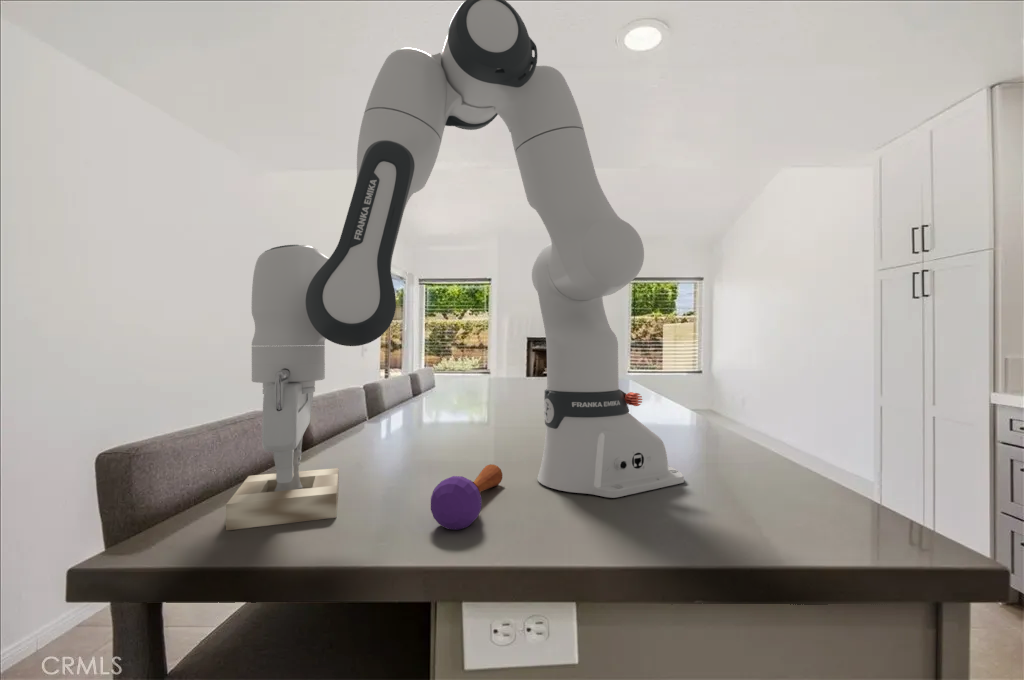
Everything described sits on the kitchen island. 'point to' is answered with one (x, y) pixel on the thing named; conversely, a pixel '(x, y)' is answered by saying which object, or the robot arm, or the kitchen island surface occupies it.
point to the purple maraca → (462, 498)
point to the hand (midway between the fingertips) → (289, 471)
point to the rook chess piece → (296, 480)
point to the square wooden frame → (283, 500)
